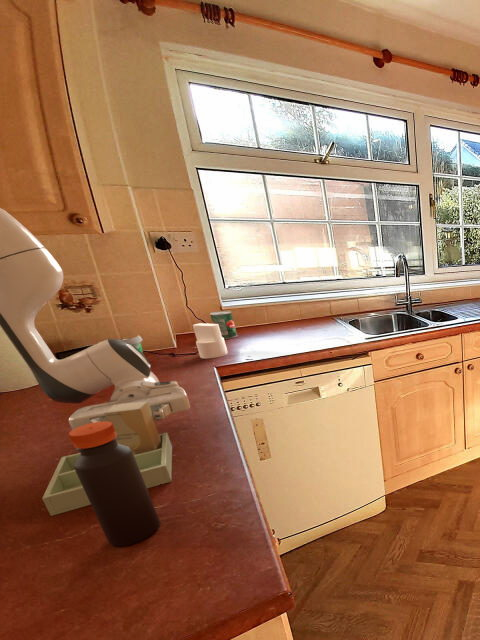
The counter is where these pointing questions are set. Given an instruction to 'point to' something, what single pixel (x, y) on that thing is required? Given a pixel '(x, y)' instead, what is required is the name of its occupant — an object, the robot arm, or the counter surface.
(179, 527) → the counter surface
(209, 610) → the counter surface
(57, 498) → the grid
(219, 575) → the counter surface
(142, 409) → the cosmetic box
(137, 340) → the food container
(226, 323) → the canned tomato
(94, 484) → the bottle
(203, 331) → the base with upright slab
